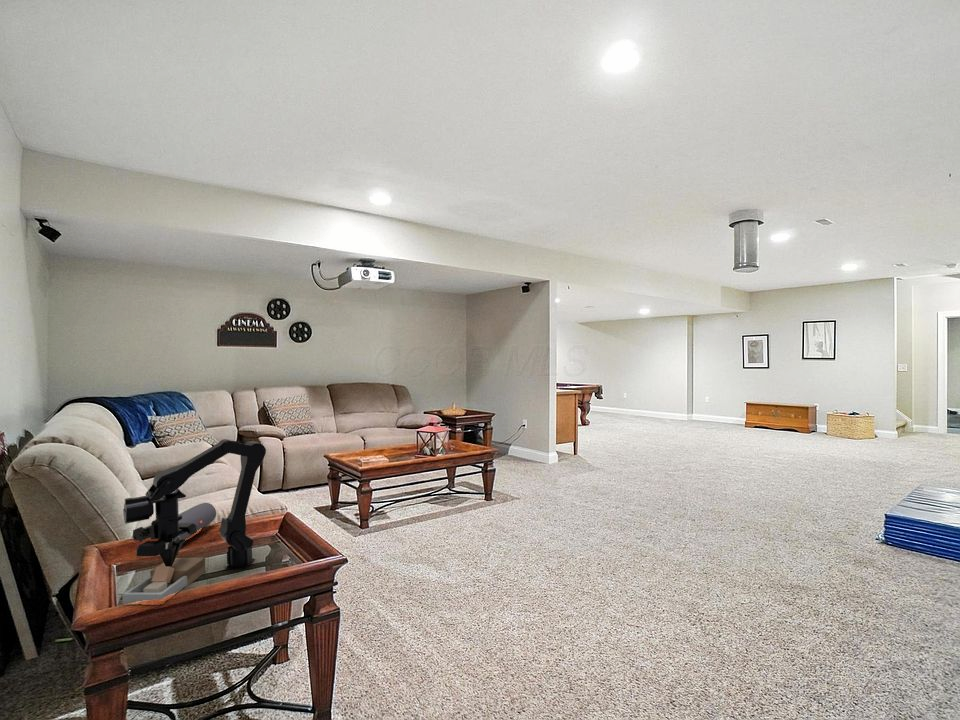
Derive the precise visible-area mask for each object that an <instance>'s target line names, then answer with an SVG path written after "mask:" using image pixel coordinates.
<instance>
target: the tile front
mask: <svg viewBox="0 0 960 720" xmlns="http://www.w3.org/2000/svg"><path fill="white" fill-rule="evenodd" d="M166 588H167V582H152V583H151V584H149V585H148V586H146V587H145V588H143V589H144V593H161V592H162V591H163V590H165V589H166Z"/></svg>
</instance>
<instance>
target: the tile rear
mask: <svg viewBox="0 0 960 720" xmlns="http://www.w3.org/2000/svg"><path fill="white" fill-rule="evenodd" d="M155 568H156V570H155V572H154V575H153V578H152V582H167V583H170V581H171V578H172V575H173V572H174V568H172V567H157V566H156V567H155Z"/></svg>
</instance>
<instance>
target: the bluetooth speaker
mask: <svg viewBox="0 0 960 720" xmlns="http://www.w3.org/2000/svg"><path fill="white" fill-rule="evenodd" d="M179 516H182V519H181V520H179V523H194V524H195V525H196V529H197V530H199V529H200V528H203V527H205V528H206V527H208V526H209V525H210V524H212V522H213V521H214V520H215V519H216V517H217V510H216V508H215V506H214V505H213V504H211V503H210V502H203V503H200V504H197V505H194V506H192V507H191V508H188V509H186V510H184V511H182V512H181V513H179ZM203 529H204V528H203ZM189 536H191V535H189V534H188V532H185V533H183V534H182V535H180V536H179V537H180V540H185V539H186V538H188V537H189Z"/></svg>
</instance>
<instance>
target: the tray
mask: <svg viewBox="0 0 960 720" xmlns="http://www.w3.org/2000/svg"><path fill="white" fill-rule="evenodd" d="M152 578H153V576H151V575H149V576H148V577H146V578H145V579H144V580H142V581H141V582H139V583H137V584H136V585H134V586H133V587H131V588H130V589H128V590H127V591H125V592H124V593H122V594H121V595H122V605H123V604H125V603H129V602H134V601H143V600H153V599H163V598H164V597H166V596H168V595H170V594H173V593H176V592H177V591H179V590H181V589H183V588H184V587H185V588H186V586H187V576H183V577H181V578H180V579H179V580H177V581H176V582H175V583H173V584H167V588H166V589H165V590H163V591H162V592H161V593H144V589H143V588H145V587H146V586H148V585H149V584H151V583H152ZM187 587H188V586H187ZM185 588H184V589H185ZM184 589H183V590H184ZM181 591H182V590H181Z"/></svg>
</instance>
